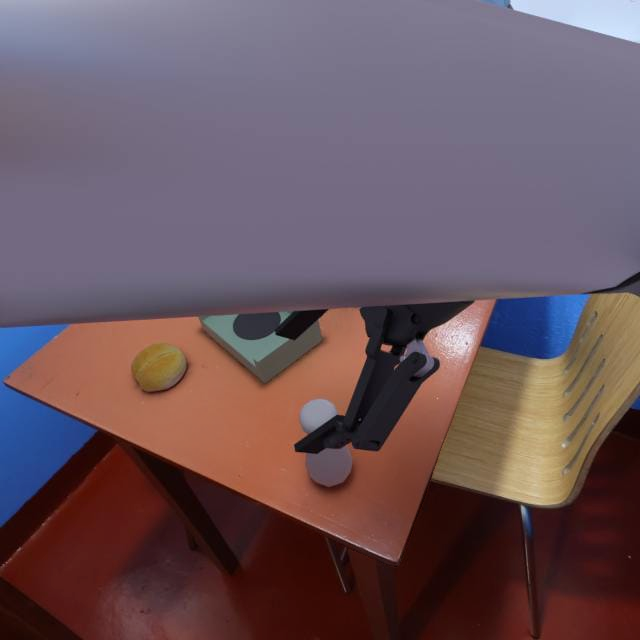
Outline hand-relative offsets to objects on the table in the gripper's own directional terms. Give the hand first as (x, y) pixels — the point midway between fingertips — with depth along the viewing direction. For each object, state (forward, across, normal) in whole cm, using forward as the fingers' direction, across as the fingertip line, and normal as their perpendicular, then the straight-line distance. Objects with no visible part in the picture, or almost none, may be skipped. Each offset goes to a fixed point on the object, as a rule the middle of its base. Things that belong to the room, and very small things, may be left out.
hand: (294, 387), depth 49 cm
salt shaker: (+10, -5, -12) cm, 17 cm away
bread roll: (+30, +19, +1) cm, 36 cm away
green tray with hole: (+19, +22, -11) cm, 31 cm away
